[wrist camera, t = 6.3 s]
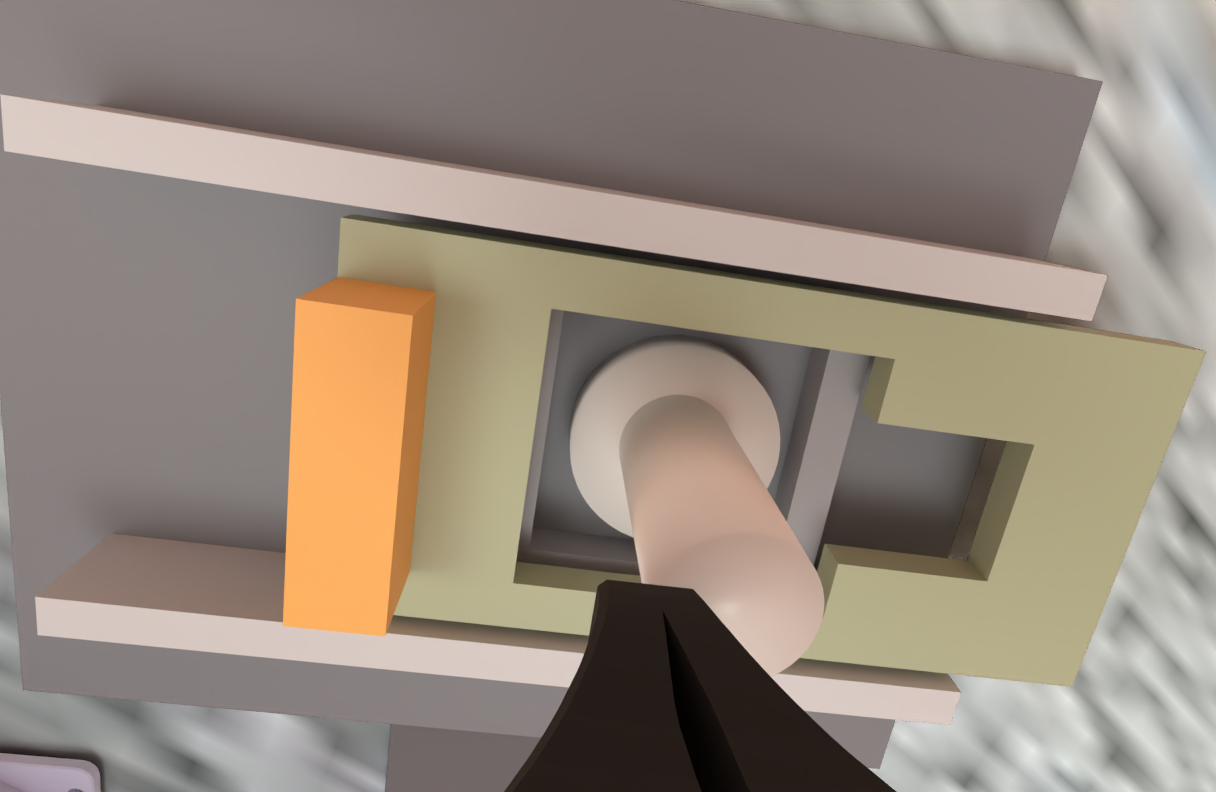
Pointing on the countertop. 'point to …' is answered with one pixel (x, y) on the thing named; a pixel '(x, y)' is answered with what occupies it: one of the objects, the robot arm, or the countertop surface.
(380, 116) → the socket board
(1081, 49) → the countertop surface
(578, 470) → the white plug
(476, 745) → the rubber pad
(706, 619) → the robot arm
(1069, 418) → the plate
